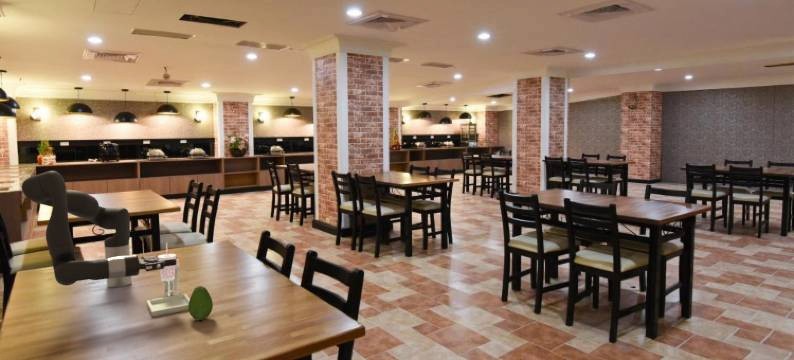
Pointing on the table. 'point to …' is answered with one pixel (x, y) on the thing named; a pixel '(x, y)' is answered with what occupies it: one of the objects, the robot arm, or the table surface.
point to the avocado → (200, 303)
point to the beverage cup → (167, 267)
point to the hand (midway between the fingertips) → (174, 260)
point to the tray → (168, 305)
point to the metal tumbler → (172, 283)
